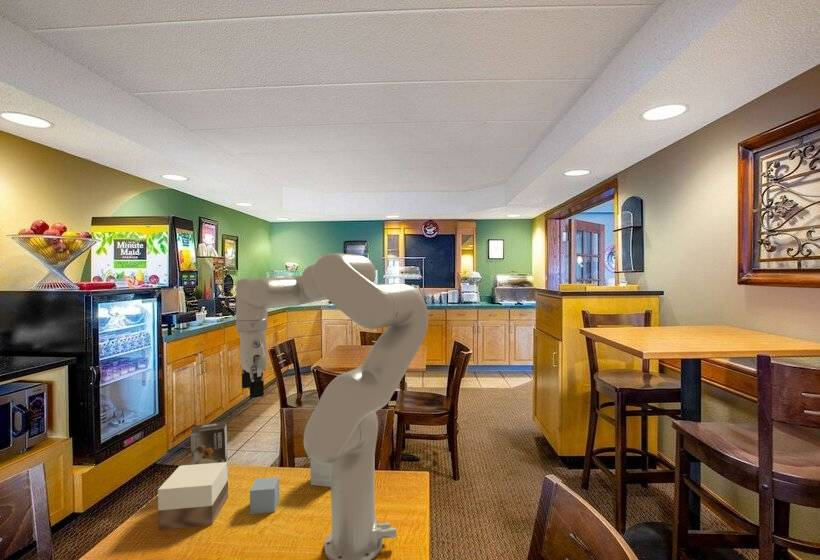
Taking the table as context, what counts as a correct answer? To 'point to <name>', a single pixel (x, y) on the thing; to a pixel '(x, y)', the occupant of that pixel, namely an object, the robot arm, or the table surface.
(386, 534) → the robot arm
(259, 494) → the stack block
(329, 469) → the supplement box
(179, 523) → the tower base block
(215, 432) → the coffee box
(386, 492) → the table surface
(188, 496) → the tower top block
